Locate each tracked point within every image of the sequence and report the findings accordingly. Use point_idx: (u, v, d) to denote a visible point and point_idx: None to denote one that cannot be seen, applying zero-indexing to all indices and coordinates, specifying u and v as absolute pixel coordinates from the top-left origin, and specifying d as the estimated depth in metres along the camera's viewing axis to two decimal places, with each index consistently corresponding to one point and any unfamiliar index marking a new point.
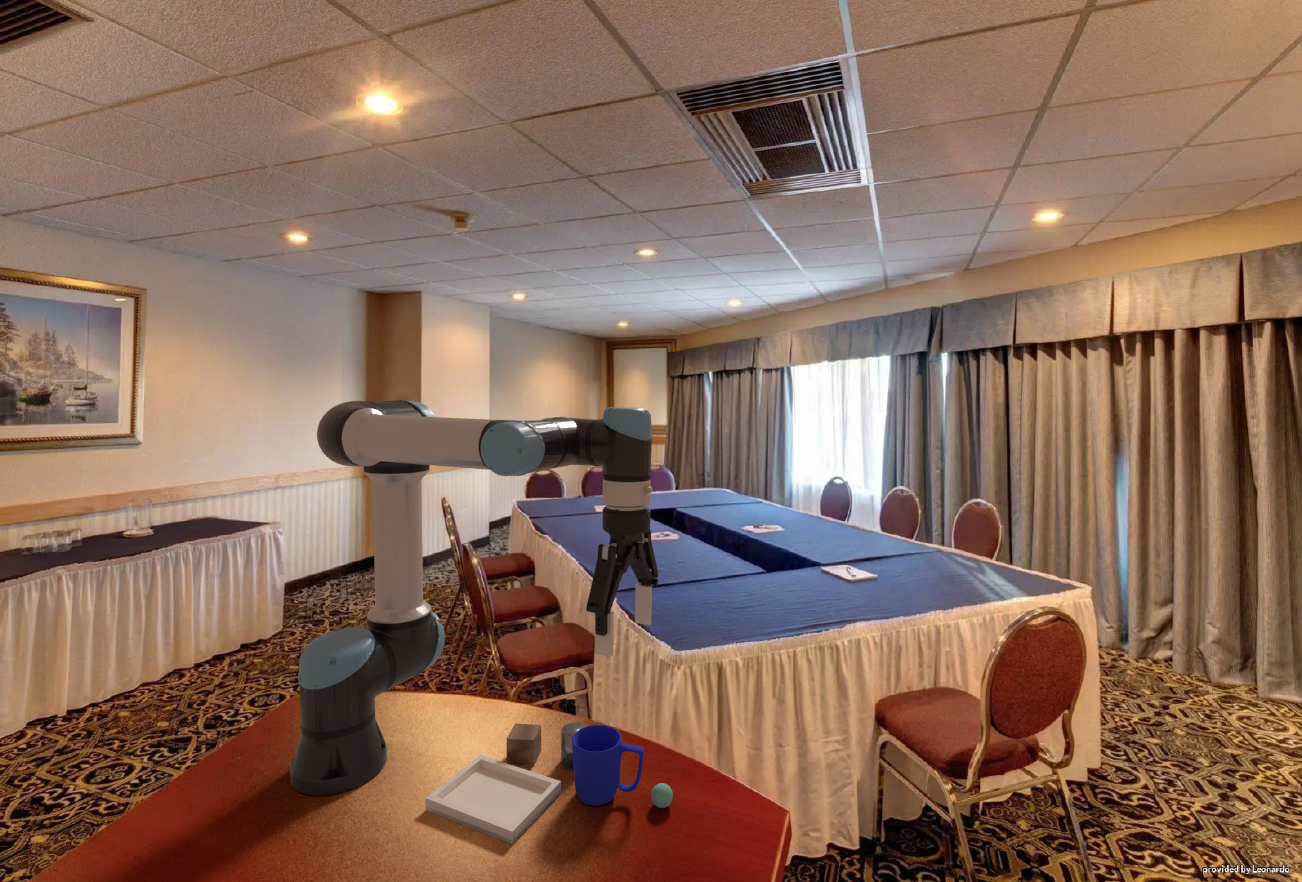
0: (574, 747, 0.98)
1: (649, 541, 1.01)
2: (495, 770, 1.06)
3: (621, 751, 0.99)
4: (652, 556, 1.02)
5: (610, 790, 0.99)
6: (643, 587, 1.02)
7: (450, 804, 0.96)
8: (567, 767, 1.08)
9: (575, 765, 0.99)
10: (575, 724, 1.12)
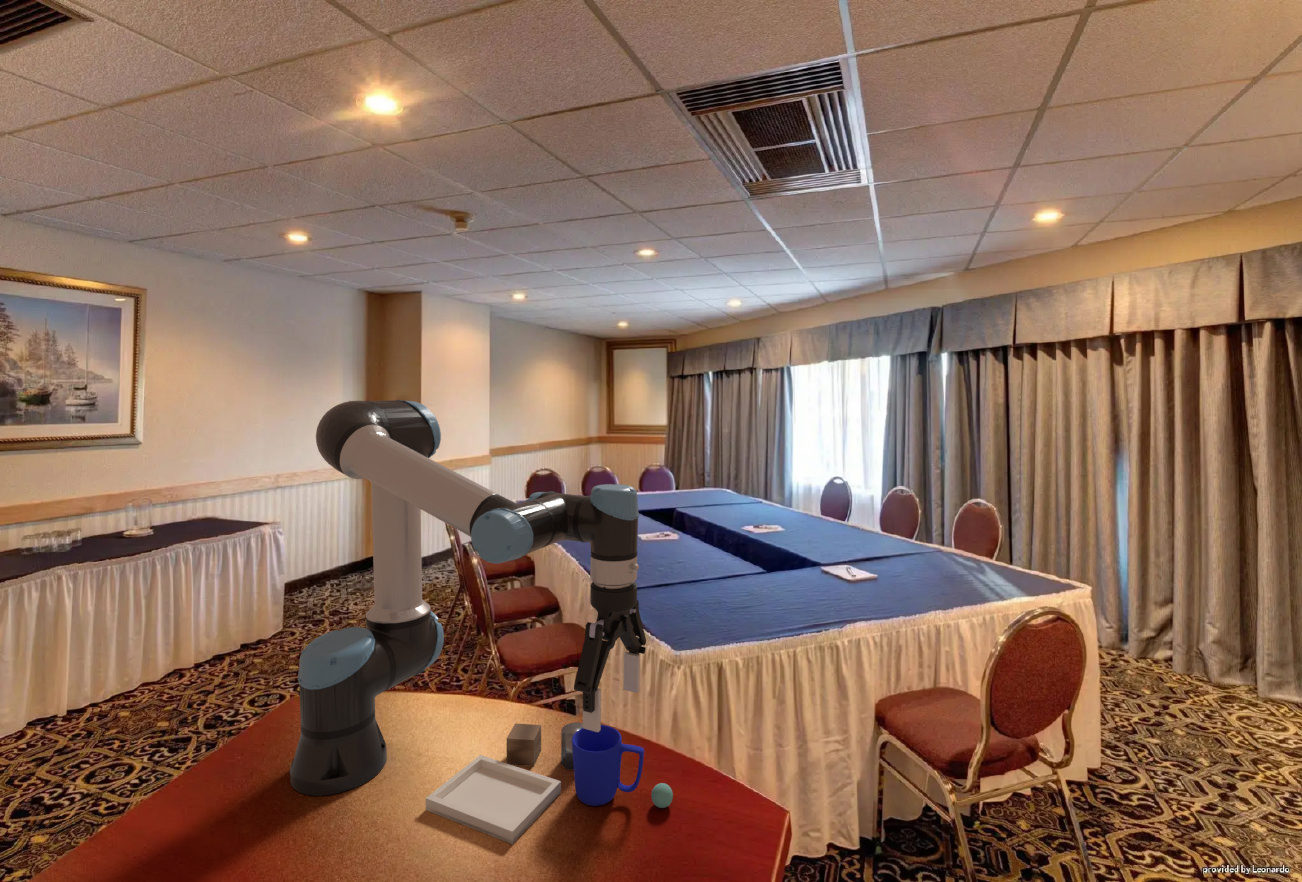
0: (574, 747, 0.98)
1: (637, 611, 1.04)
2: (495, 770, 1.06)
3: (621, 751, 0.99)
4: (640, 625, 1.05)
5: (610, 790, 0.99)
6: (631, 655, 1.05)
7: (450, 804, 0.96)
8: (567, 767, 1.08)
9: (575, 765, 0.99)
10: (575, 724, 1.12)
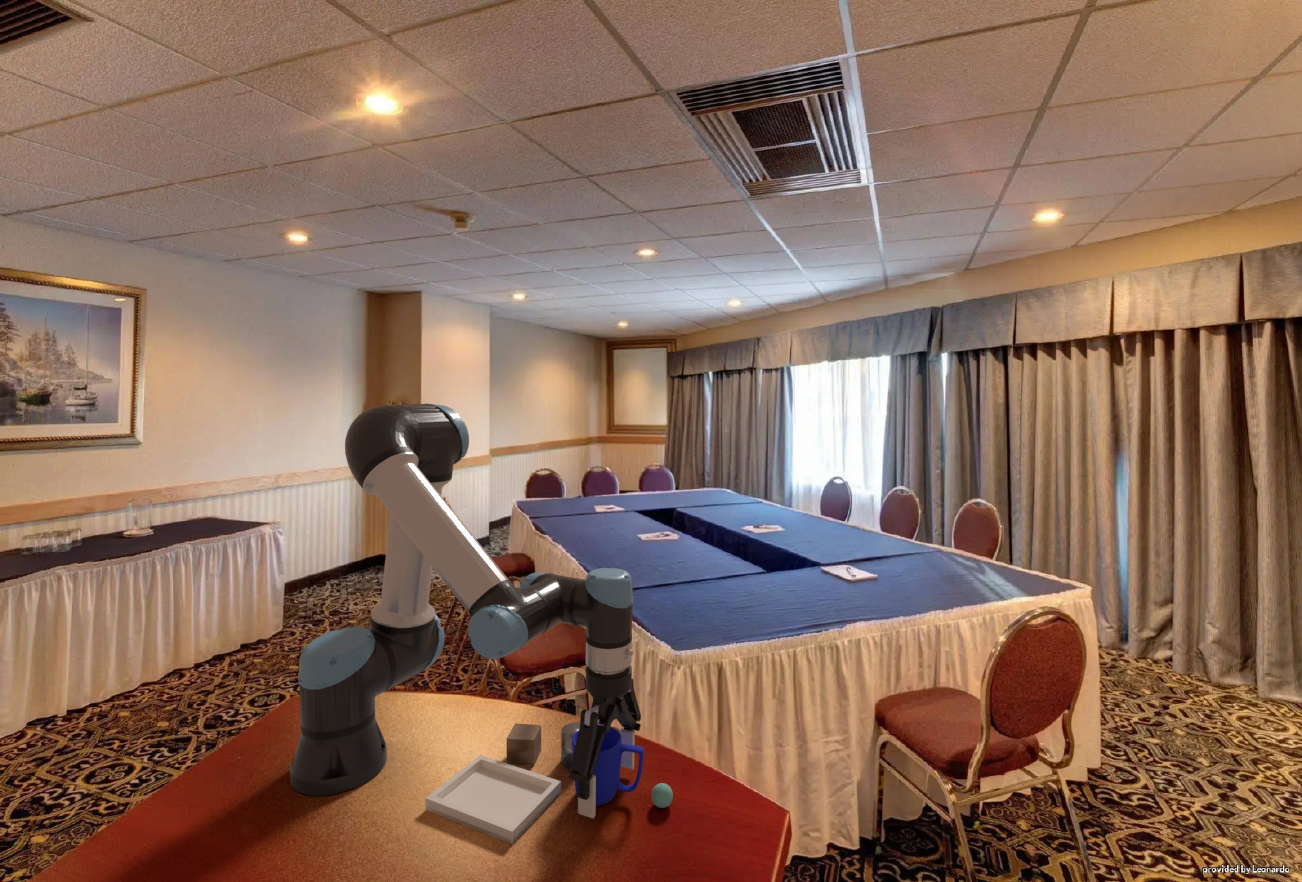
0: (574, 747, 0.98)
1: (631, 690, 1.05)
2: (495, 770, 1.06)
3: (621, 751, 0.99)
4: (635, 702, 1.06)
5: (610, 790, 0.99)
6: (626, 733, 1.06)
7: (450, 804, 0.96)
8: (567, 768, 1.08)
9: None
10: (575, 724, 1.12)
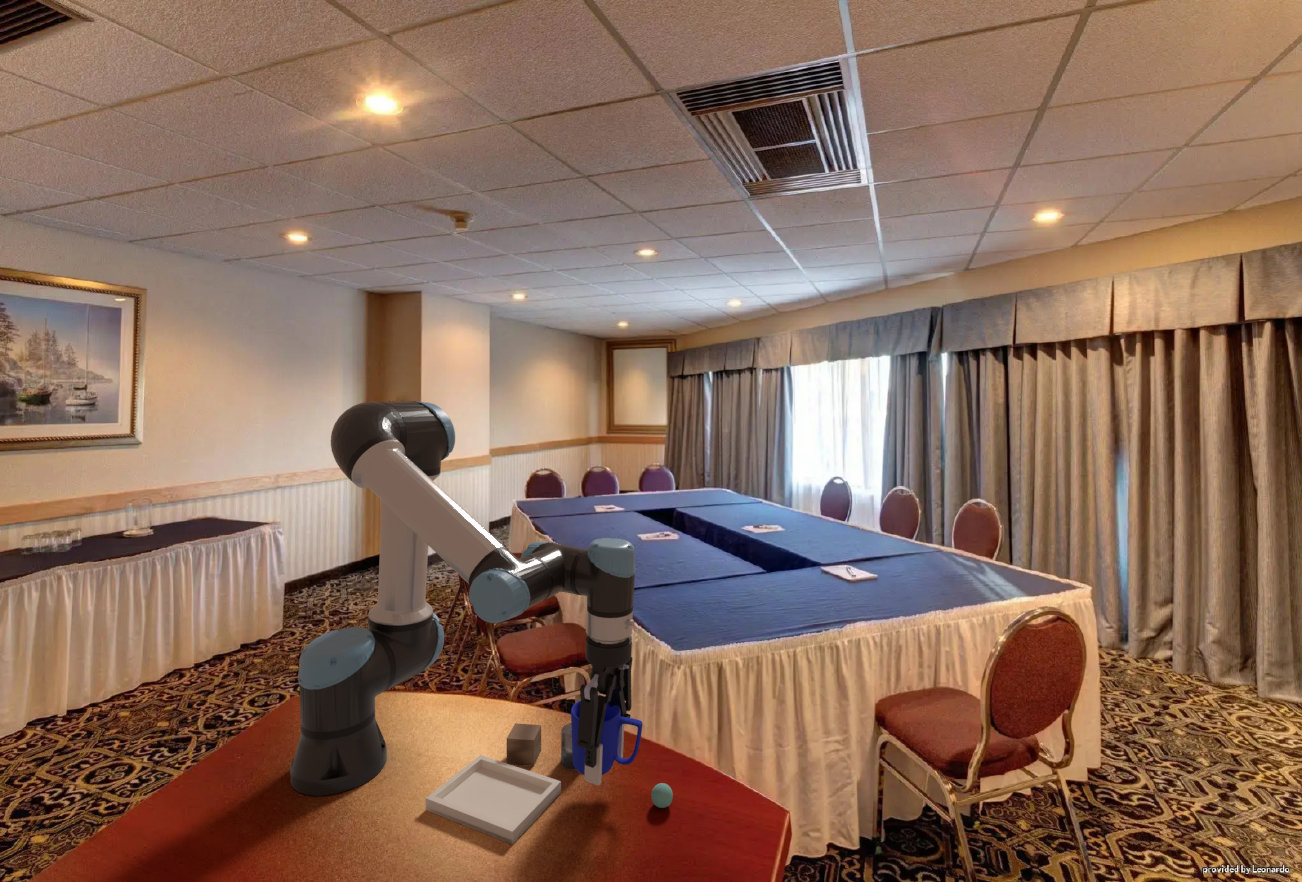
0: (573, 717, 0.99)
1: (629, 669, 1.04)
2: (495, 770, 1.06)
3: (620, 724, 1.00)
4: (629, 686, 1.05)
5: (607, 762, 0.99)
6: None
7: (450, 804, 0.96)
8: (567, 767, 1.08)
9: (573, 735, 0.99)
10: None
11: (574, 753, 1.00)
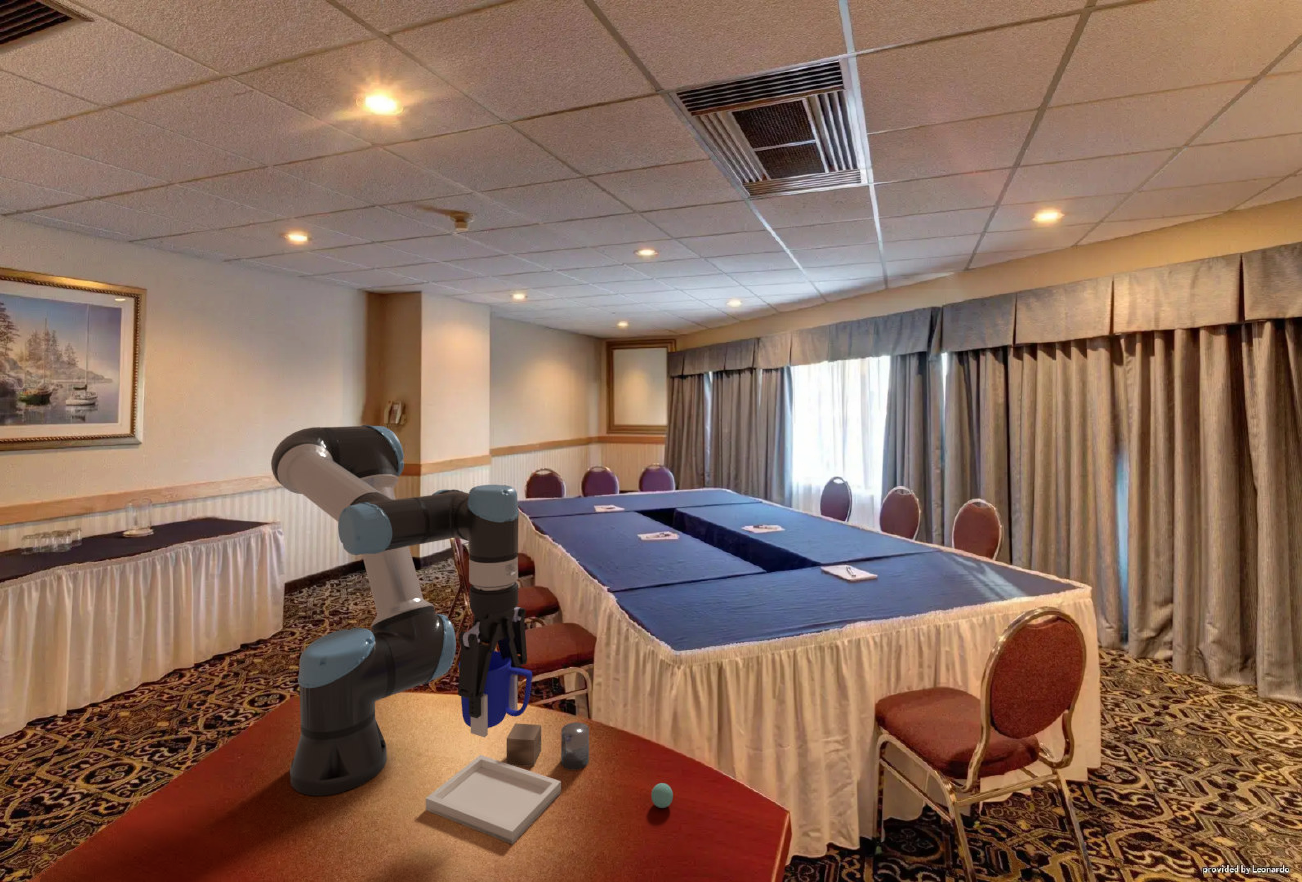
0: (459, 668, 0.96)
1: (522, 621, 1.02)
2: (495, 770, 1.06)
3: (508, 674, 0.97)
4: (523, 638, 1.02)
5: (496, 714, 0.97)
6: None
7: (450, 804, 0.96)
8: (567, 767, 1.08)
9: None
10: (575, 724, 1.12)
11: (462, 705, 0.97)
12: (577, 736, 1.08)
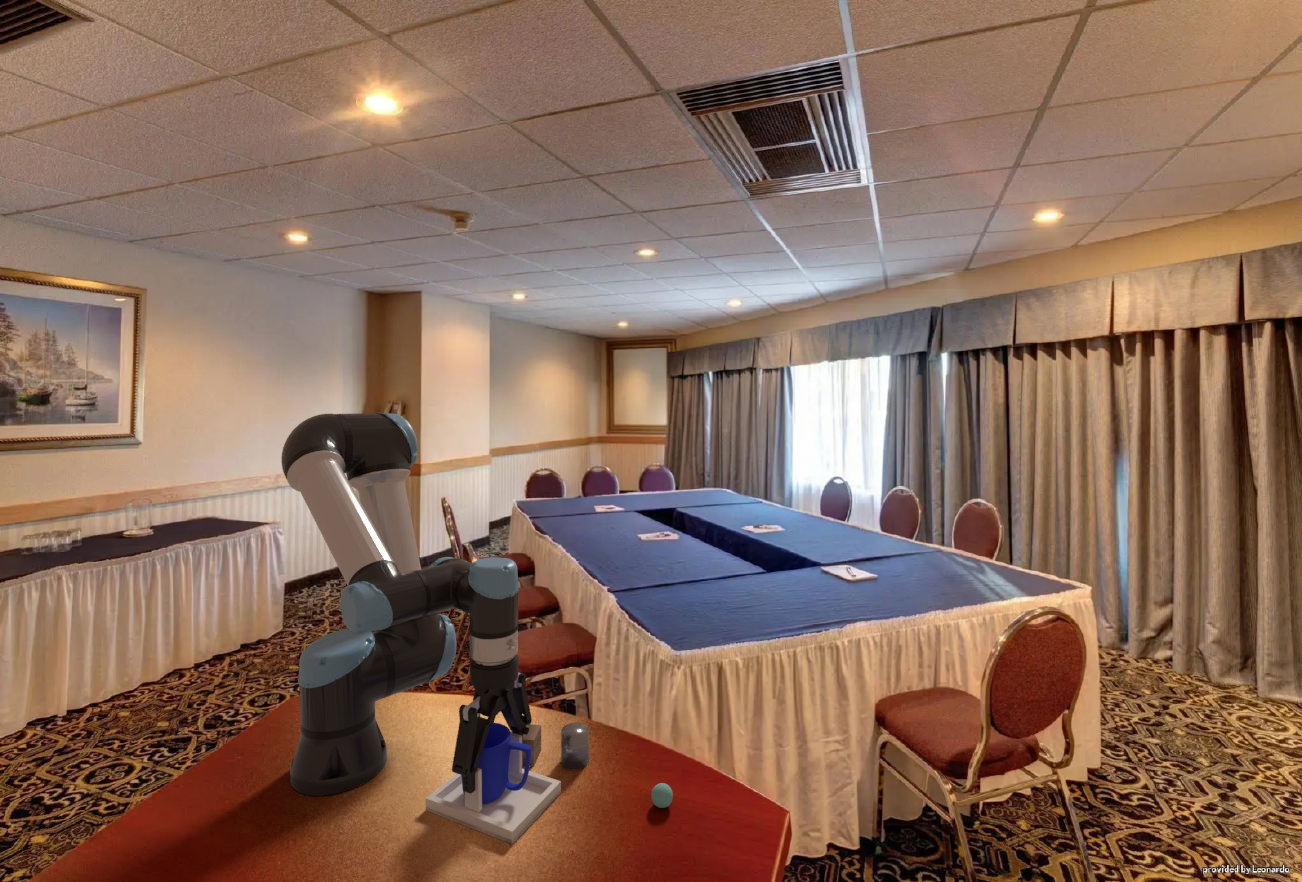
0: None
1: (523, 686, 1.03)
2: None
3: (508, 749, 0.98)
4: (525, 702, 1.04)
5: (495, 789, 0.98)
6: (513, 736, 1.03)
7: (450, 804, 0.96)
8: (567, 767, 1.08)
9: None
10: (575, 724, 1.12)
11: (462, 780, 0.98)
12: (577, 736, 1.08)
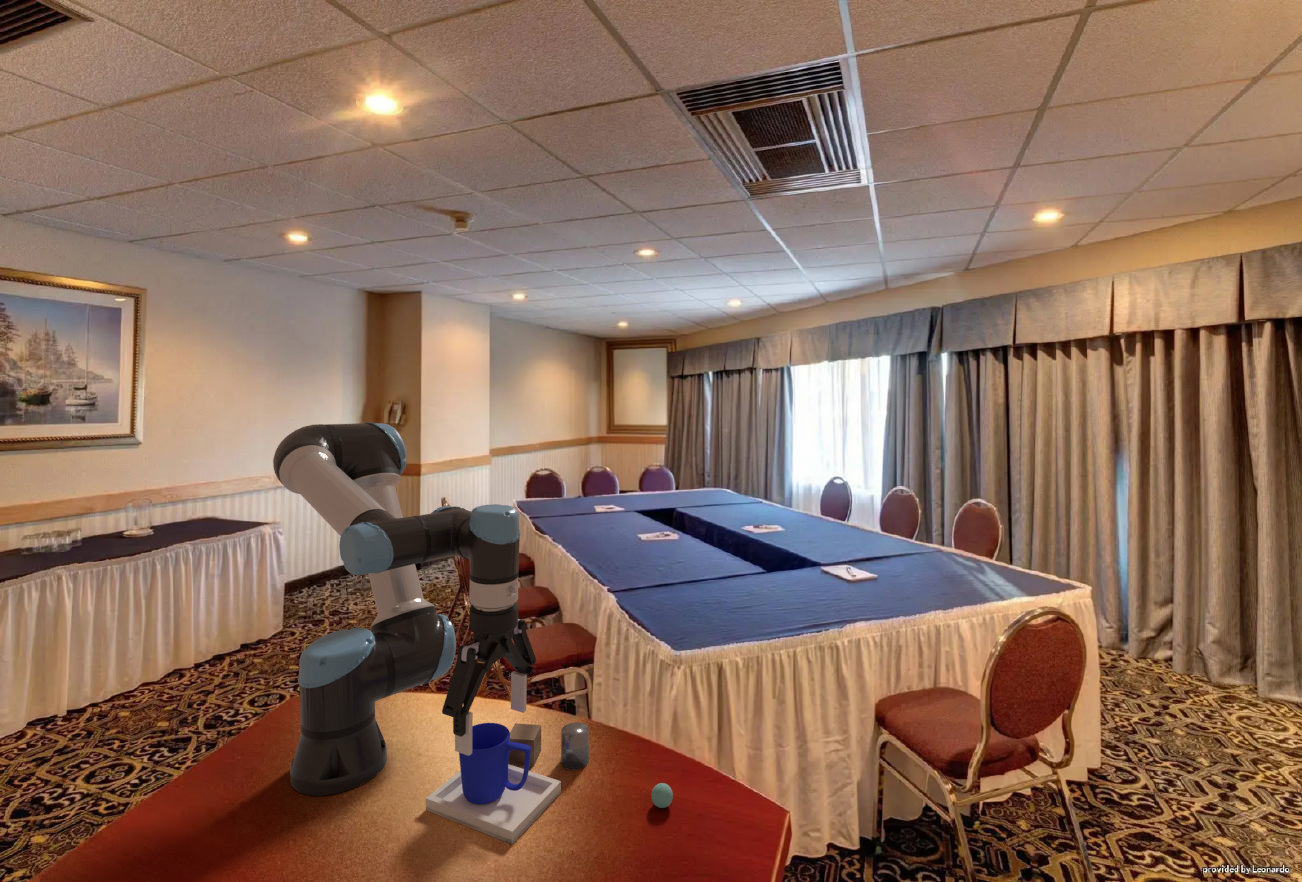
0: None
1: (523, 632, 1.03)
2: None
3: (507, 749, 0.98)
4: (527, 645, 1.04)
5: (495, 789, 0.98)
6: (518, 675, 1.04)
7: (450, 804, 0.96)
8: (567, 767, 1.08)
9: (460, 763, 0.98)
10: (575, 724, 1.12)
11: (462, 781, 0.98)
12: (577, 736, 1.08)
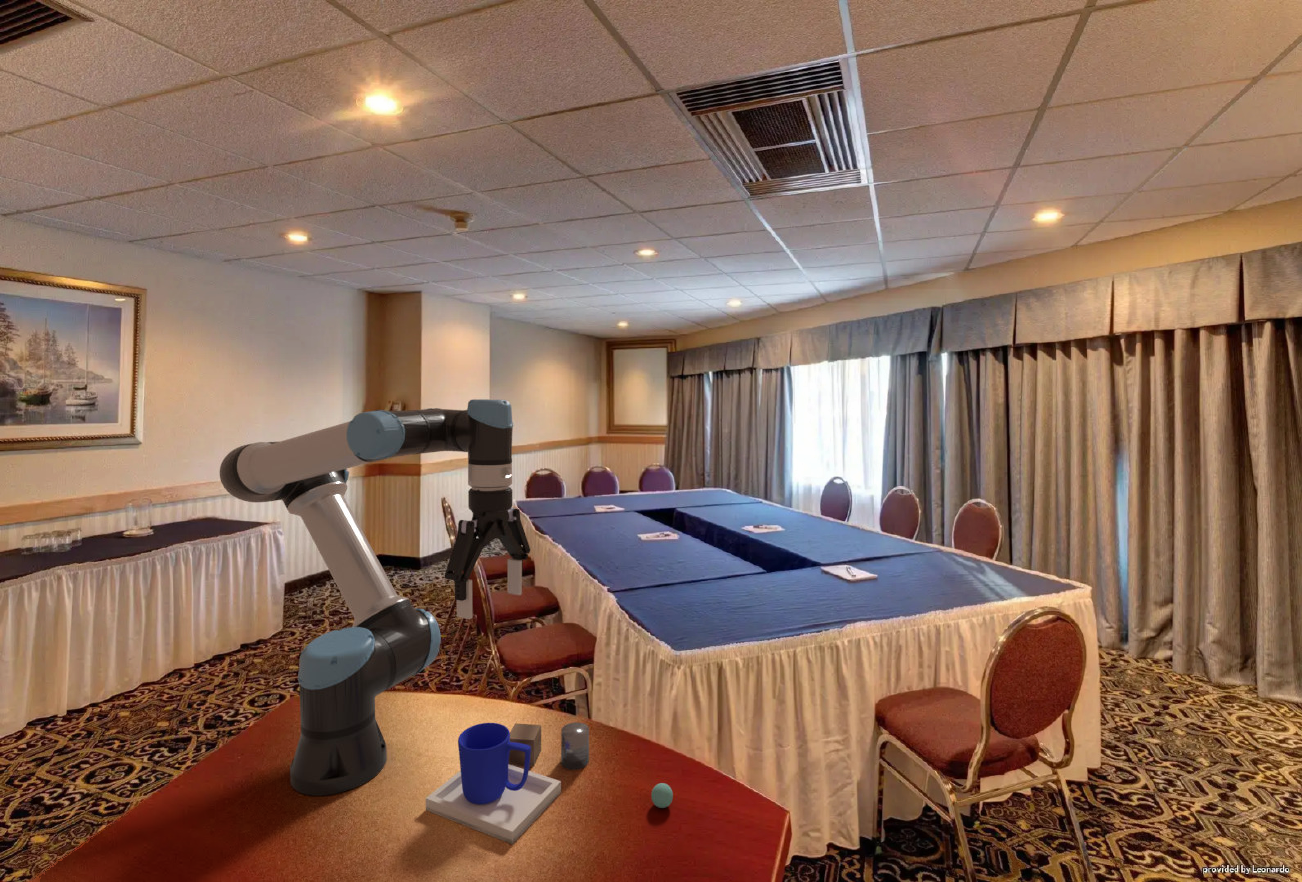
0: (459, 745, 0.97)
1: (518, 519, 1.13)
2: None
3: (507, 750, 0.98)
4: (522, 533, 1.14)
5: (495, 789, 0.98)
6: (514, 561, 1.14)
7: (450, 804, 0.96)
8: (567, 768, 1.08)
9: (460, 763, 0.98)
10: (575, 724, 1.12)
11: (462, 781, 0.98)
12: (577, 736, 1.08)
